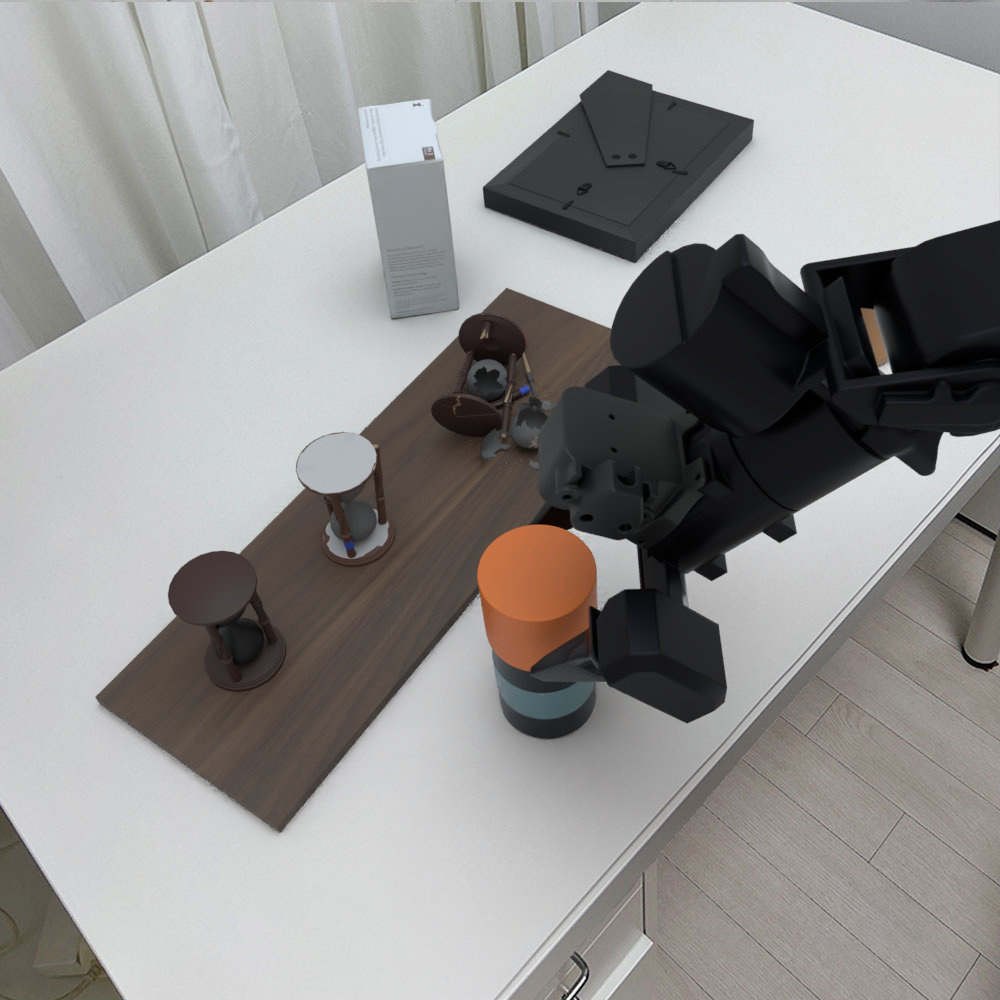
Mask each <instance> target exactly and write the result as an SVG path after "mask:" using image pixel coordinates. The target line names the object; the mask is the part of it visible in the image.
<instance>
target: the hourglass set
mask: <svg viewBox="0 0 1000 1000" xmlns="http://www.w3.org/2000/svg"><path fill="white" fill-rule="evenodd" d="M611 328H612V327H608V326H606V325H603V324H601V323H598V322H595V321H593V320H590V319H587V318H585V317H583V316H580V315H577V314H575V313H573V312H570V311H568V310H565V309H563V308H559V307H557V306H556V305H555V306H554V305H552V304H549V303H547V302H545V301H542V300H539V299H537V298H534V297H533V296H528V295H526V294H524V293H522V292H519V291H516V290H513V289H511V288H509V287H506V288H504V289H503V291H501V292H500V293H499V295H497V296H496V297H495V299H493V300H492V301H491V303H489V304H488V306H486V308H485V309H483V310H482V311H481V312H480V313H476V314H472V315H471V316H469V317H467V318H466V319H465V320H464V321H463V322H462V323H461V325H460V326H459V331H458V335H457V336H456V337H455V338H454V339H453V340H452V341H451V342H450V343H449V344H448V345H447V346H446V347H445V348H444V349H443V350H442V351H441V352H440V353H438V355H437V356H436V357H435V358H434V359H433V360H432V361H431V362H430V363H429V364H428V365H427V366H426V367H425V368H424V369H423V370H422V371H421V372H420V373H419V374H418V375H417V376H416V377H415V378H414V379H413V380H412V381H411V382H410V383H409V384H408V385H407V386H406V387H405V388H404V389H403V390H402V391H401V392H400V393H399V394H398V395H397V396H396V397H395V398H394V399H393V400H392V401H391V402H390V403H389V404H388V405H387V406H386V407H385V408H384V409H383V410H382V411H381V412H380V413H379V414H377V416H376V417H375V418H374V419H373V420H372V421H370V423H369V424H367V426H366V427H365V428H364V429H363V430H362V431H361V432H360V433H359V434H357V433H355V432H347V431H340V432H339V431H338V432H331V433H327V434H325V435H321V436H319V437H318V438H316V439H314V440H312V441H311V442H309V443H308V444H307V445H306V446H305V447H304V448H303V449H302V451H301V452H300V453H299V455H298V457H297V460H296V462H295V472H296V476H297V479H298V481H299V483H300V484H301V485H302V487H303V488H304V489H302V491H300V493H298V494H297V496H295V497H294V498H293V499H292V500H291V502H289V503H288V504H287V506H285V508H284V509H282V510H281V512H280V513H279V514H278V515H277V516H275V517H274V518H273V519H272V520H271V521H270V523H269V524H267V525H266V526H265V527H264V528H263V530H261V531H260V532H259V533H258V534H257V535H256V536H255V537H254V538H253V540H252V541H250V542H249V543H248V544H247V545H246V546H245V547H244V548H243V549H242V550H241V551H240V552H238V553H237V552H235V551H228V550H217V551H216V550H215V551H214V550H213V551H212V550H211V551H209V552H205V553H202V554H199V555H197V556H195V557H194V558H192V559H190V560H188V561H187V562H185V564H184V565H182V566H180V568H179V569H178V570H177V572H176V573H175V574H174V575H173V577H172V579H171V581H170V583H169V586H168V591H167V599H168V605H169V606H170V608H171V610H172V613H174V615H175V617H174V618H173V619H172V620H171V621H170V622H169V623H168V624H167V625H166V626H165V627H163V629H162V630H161V631H160V632H159V633H158V634H156V635H155V637H154V638H153V639H152V640H151V641H150V642H149V643H148V644H147V645H146V646H144V648H143V649H142V650H141V651H140V652H139V653H138V654H137V655H136V656H135V657H134V658H133V659H132V660H131V661H130V662H129V663H127V664H126V666H125V667H124V668H122V670H121V671H120V672H118V674H117V675H116V676H114V677H113V679H111V681H110V682H109V683H107V684H106V686H105V687H104V688H103V689H102V690H100V692H99V693H97V695H96V696H94V699H96V700H97V702H98V703H99V705H101V706H103V708H105V709H107V710H108V711H109V712H111V713H112V714H114V715H115V716H116V717H117V718H119V719H120V720H122V721H123V722H124V723H126V724H128V726H130V727H132V728H133V729H134V730H136V731H137V732H139V733H140V734H142V736H144V737H145V738H146V739H148V740H150V741H151V742H152V743H154V744H155V745H156V746H158V747H159V748H161V749H162V750H163V751H165V752H167V753H168V754H169V755H171V756H172V757H173V758H175V759H176V760H177V761H179V762H181V764H183V765H184V766H186V767H187V768H189V769H190V770H192V771H193V772H194V773H196V774H197V775H198V776H200V777H202V778H203V779H204V780H206V781H207V782H208V783H210V785H212V786H214V787H215V788H217V789H218V790H219V791H221V792H222V793H224V794H225V795H226V796H227V797H229V798H231V800H233V801H235V802H236V803H237V804H239V805H240V806H242V807H243V808H244V809H246V810H247V811H249V812H250V813H251V814H253V815H254V816H256V817H257V818H258V819H260V820H261V821H262V822H264V823H266V825H268V826H270V827H271V828H272V829H274V830H275V831H277V832H278V833H281V832H282V831H283V830H284V829H285V827H286V826H287V825H288V824H289V823H290V822H291V820H292V819H293V818H294V816H296V814H297V813H298V812H299V811H300V810H301V809H302V807H303V806H304V805H305V804H306V802H307V801H308V800H309V799H310V797H311V796H312V795H313V794H314V793H315V791H316V790H317V789H318V788H319V786H320V785H321V784H322V783H323V782H324V780H325V779H326V778H327V777H328V776H329V775H330V773H331V772H332V771H333V770H334V768H336V766H338V764H339V762H340V761H341V760H342V759H343V758H344V756H345V755H346V754H347V753H348V752H349V750H350V749H351V748H352V747H353V745H354V744H355V743H356V742H357V741H358V740H359V739H360V737H361V736H362V735H363V733H364V732H365V731H366V730H367V729H368V727H369V726H370V725H371V724H372V722H374V720H375V719H376V718H377V716H379V714H380V713H381V712H382V710H383V709H384V708H385V707H386V706H387V704H388V703H389V702H390V701H391V700H392V698H394V696H395V695H396V693H398V692H399V690H400V689H401V688H402V686H403V685H404V684H405V683H406V682H407V681H408V679H409V678H410V677H411V675H412V674H413V673H414V672H415V671H416V669H418V668H419V666H420V664H422V662H423V661H424V660H425V659H426V657H427V656H428V655H429V654H430V652H431V651H432V650H433V649H434V647H435V646H437V644H438V643H439V642H440V640H441V639H442V638H443V637H444V636H445V635H446V634H447V632H448V631H449V630H450V628H451V627H452V626H453V625H454V623H455V622H456V621H457V620H458V619H459V618H460V617H461V616H462V614H463V613H464V612H465V610H466V609H467V608H468V607H469V605H470V604H471V603H472V602H473V601H474V599H475V598H476V597H477V596H478V595H479V594H480V592H479V586H478V580H477V571H478V565H479V562H480V559H481V557H482V555H483V553H484V552H485V550H486V549H487V548H488V546H489V545H490V544H491V543H492V542H493V541H494V540H496V539H497V538H498V537H500V536H501V535H503V534H504V533H506V532H508V531H510V530H513V529H515V528H519V527H522V526H528V525H530V524H531V522H532V521H533V519H534V518H535V516H536V515H537V514H538V512H539V511H540V509H541V508H542V506H543V505H544V503H545V502H546V501H545V500H544V499H543V498H542V497H541V495H540V494H539V491H538V488H537V478H538V474H539V449H538V447H537V436H538V434H539V432H540V430H541V429H542V427H543V425H544V424H545V422H546V420H547V419H548V417H549V415H550V414H551V412H552V410H553V409H554V407H555V405H556V404H557V402H558V400H559V399H560V397H561V395H562V394H563V392H564V391H565V390H566V389H567V388H569V387H572V386H578V387H583V388H585V384H586V383H587V382H588V381H590V380H591V379H592V378H594V377H595V376H596V375H597V374H599V373H600V372H601V371H603V370H604V369H605V368H607V367H608V366H613V365H620V364H619V363H618V362H617V361H616V360H615V359H614V357H613V354H612V351H611V348H610V335H611Z"/></svg>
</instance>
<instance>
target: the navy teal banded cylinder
mask: <svg viewBox="0 0 1000 1000" xmlns="http://www.w3.org/2000/svg"><path fill="white" fill-rule="evenodd" d="M491 657H492V662H493V668H494V669H493V670H494V675H495V681H496V687H497V689H498V690H497V691H498V696H499V701H500V702H499V703H500V707H501V710H502V713H503V715H504V717H505V718H506V720H507V721H508V723H509V724H510V725H511V726H512V727H513V728H514V729H516V730H517V731H518V732H520V733H521V734H524V735H525V736H528V737H531V738H535V739H540V740H555V739H559V738H563V737H566V736H568V735H571V734H573V733H574V732H576V731H578V730H579V729H580V728H581V727H583V725H584V724H586V723H587V721H588V719H590V717H591V715H592V714H593V711H594V708H595V704H596V682H546V681H542V680H539V679H537V678H535V677H533V676H531V674H530V671H525V670H521V669H518V668H516V667H513V666H511V665H510V664H508V663H506V662H505V661H504V660H502V659H501V658H500V657H499V656H498V655H497V654H496V653H495V652H494V650H493V649H492V648H491Z"/></svg>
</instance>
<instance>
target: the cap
mask: <svg viewBox="0 0 1000 1000" xmlns="http://www.w3.org/2000/svg"><path fill="white" fill-rule="evenodd" d="M595 559H596V558H595V556H594V553H593V552H592V551H591V548H590V547H589V546H588V545H587V543H585V541H584V540H582V539H581V538H580V537H579V536H577V535H576V534H574V532H571V531H569V530H565V529H562V528H559V527H555V526H550V525H528V526H522V527H519V528H515V529H513V530H510V531H508V532H506V533H504V534H503V535H501V536H500V537H498V538H497V539H496V540H494V541H493V542H492V543H491V544H490V545H489V546H488V548H487V549H486V550H485V552H484V553H483V555H482V557H481V559H480V562H479V565H478V571H477V580H478V586H479V599H480V605H481V610H482V616H483V617H482V618H483V624H484V630H485V634H486V638H487V642H488V645H490V647H491V650H492V649H493V650H494V652H495V653H496V654H497V655H498V656H499V657H500V658H501V659H502V660H504V661H505V662H506V663H508V664H510V665H511V666H513V667H516V668H518V669H521V670H525V671H530V668H531V667H532V666H533V665H534V664H535V663H537V662H538V661H539V660H540V659H541V658H543V657H544V656H545V655H547V654H548V653H550V652H551V651H553V650H555V649H556V648H558V647H559V646H561V645H563V644H564V643H566V642H567V641H569V640H571V639H572V638H574V637H575V636H577V635H579V634H580V633H582V632H583V631H585V630H587V629H588V627H589V624H588V609H589V607H590V606H593V607H595V608H597V609H598V570H597V562H596V560H595Z"/></svg>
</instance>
